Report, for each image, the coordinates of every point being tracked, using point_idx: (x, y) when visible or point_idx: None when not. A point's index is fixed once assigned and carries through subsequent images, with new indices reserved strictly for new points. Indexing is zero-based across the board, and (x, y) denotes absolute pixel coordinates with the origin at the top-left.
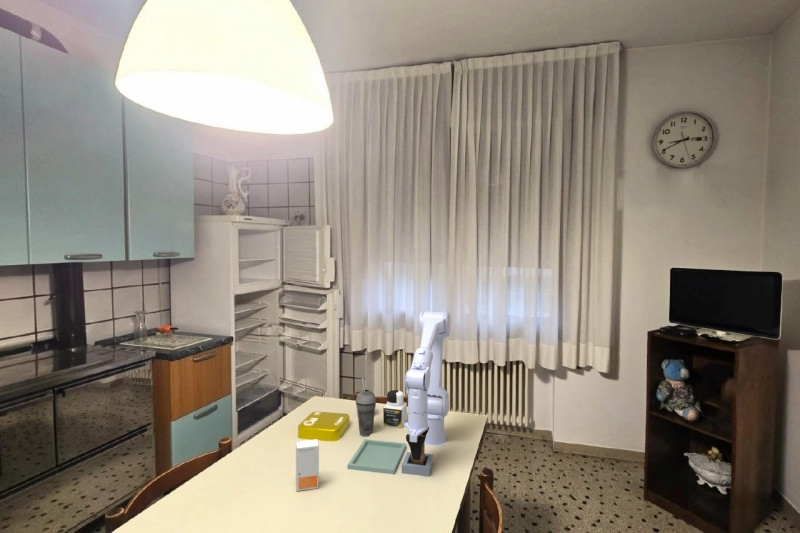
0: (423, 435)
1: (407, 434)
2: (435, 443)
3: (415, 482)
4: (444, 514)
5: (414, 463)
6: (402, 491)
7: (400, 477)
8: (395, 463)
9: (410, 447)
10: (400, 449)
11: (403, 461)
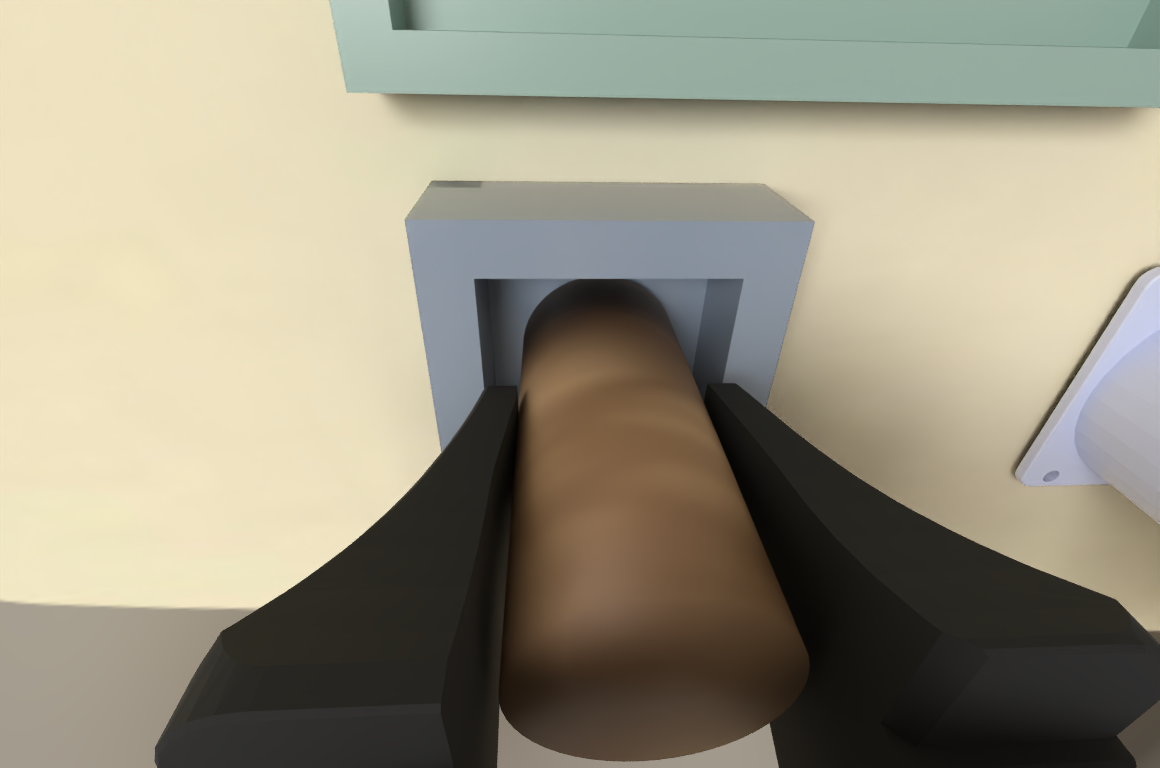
0: (713, 744)
1: (414, 722)
2: (1088, 432)
3: (353, 348)
4: (60, 575)
5: (524, 362)
6: (123, 258)
7: (381, 176)
8: (544, 70)
9: (391, 514)
10: (1006, 55)
11: (513, 226)
